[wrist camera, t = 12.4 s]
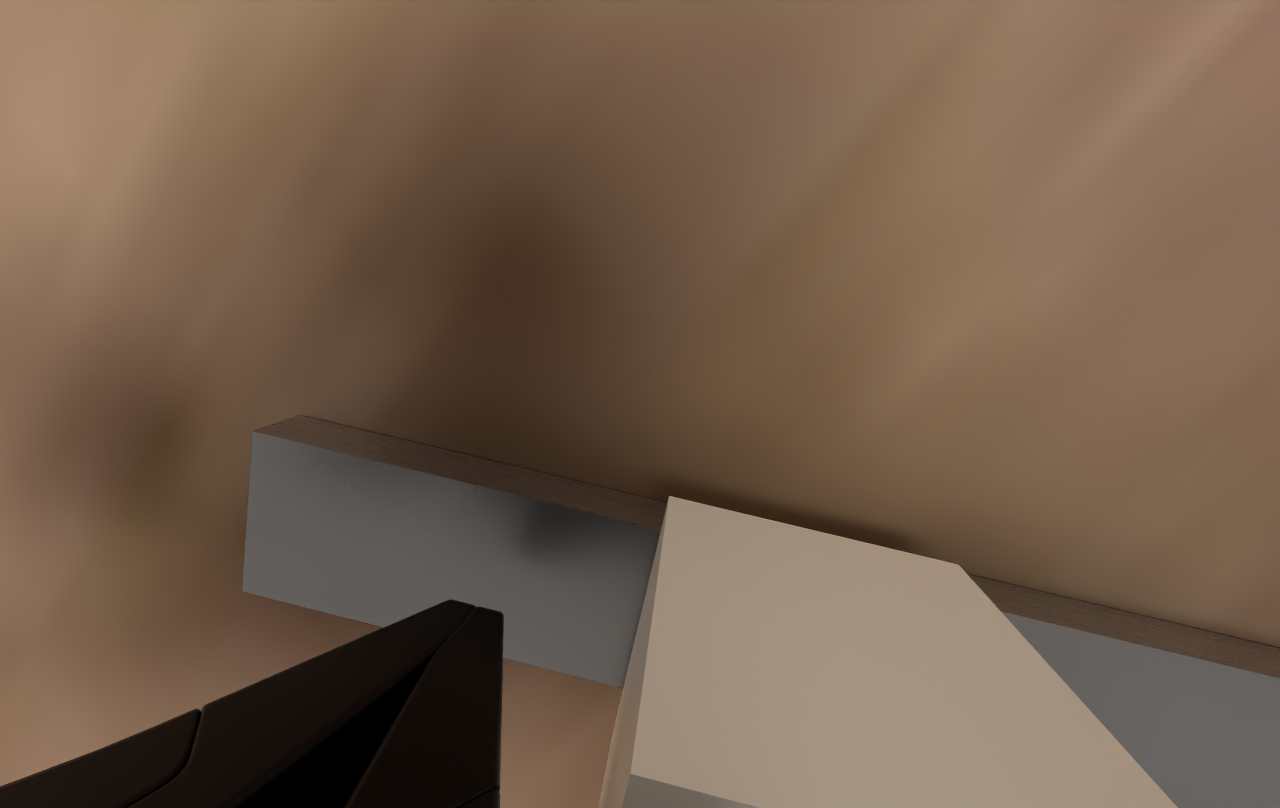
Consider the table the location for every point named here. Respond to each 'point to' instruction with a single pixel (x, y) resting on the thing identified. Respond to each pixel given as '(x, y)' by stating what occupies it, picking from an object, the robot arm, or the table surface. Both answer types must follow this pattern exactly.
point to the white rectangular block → (842, 684)
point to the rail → (619, 574)
